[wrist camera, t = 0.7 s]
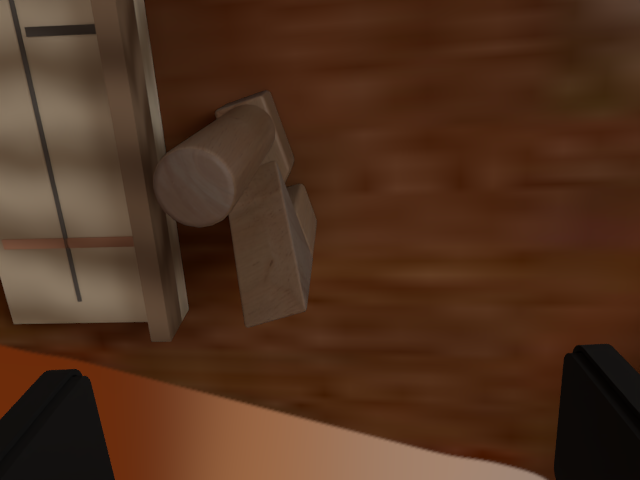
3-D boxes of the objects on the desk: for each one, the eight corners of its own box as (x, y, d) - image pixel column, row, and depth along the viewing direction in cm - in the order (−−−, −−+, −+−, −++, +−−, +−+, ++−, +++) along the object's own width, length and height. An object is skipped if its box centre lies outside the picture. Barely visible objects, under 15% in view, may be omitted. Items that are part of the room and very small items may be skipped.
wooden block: (275, 236, 42) (231, 372, 25) (223, 104, 38) (131, 158, 21) (319, 223, 41) (304, 352, 24) (270, 88, 37) (214, 129, 21)
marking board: (-74, -61, 35) (-139, -77, 30) (133, -72, 34) (100, -89, 29) (27, 312, 45) (-10, 343, 40) (188, 309, 44) (170, 341, 39)
